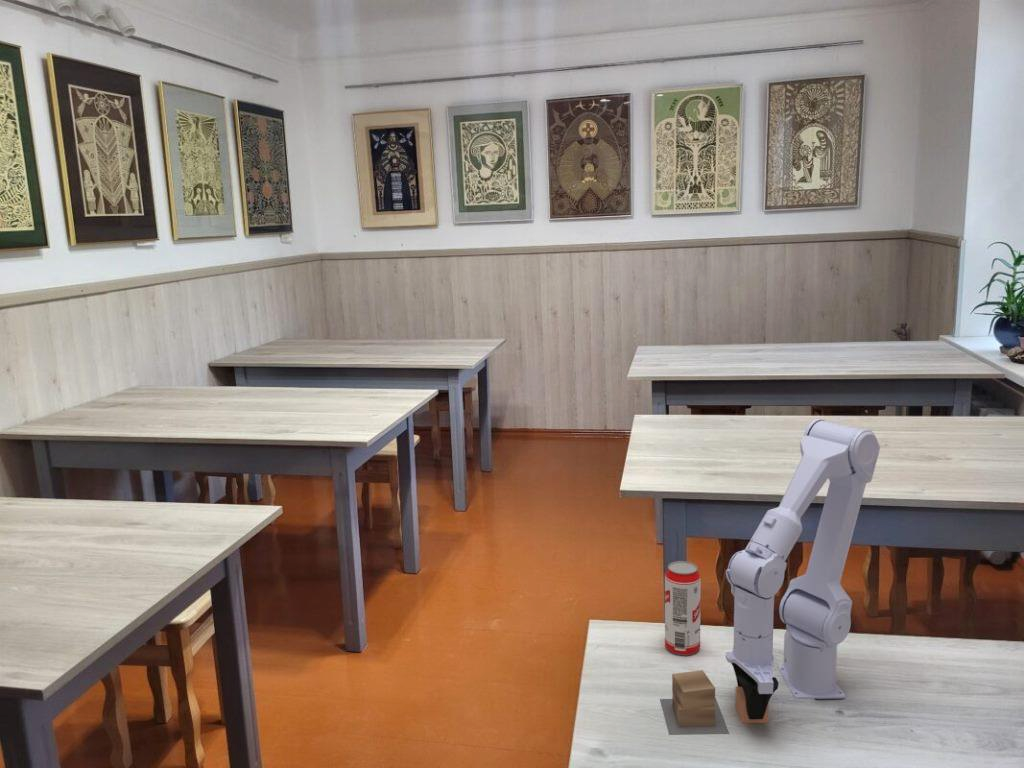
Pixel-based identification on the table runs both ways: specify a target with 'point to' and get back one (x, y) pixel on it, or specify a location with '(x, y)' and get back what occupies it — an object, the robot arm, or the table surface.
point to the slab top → (693, 689)
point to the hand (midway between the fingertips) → (751, 708)
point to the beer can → (682, 608)
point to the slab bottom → (693, 715)
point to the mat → (676, 730)
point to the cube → (742, 711)
